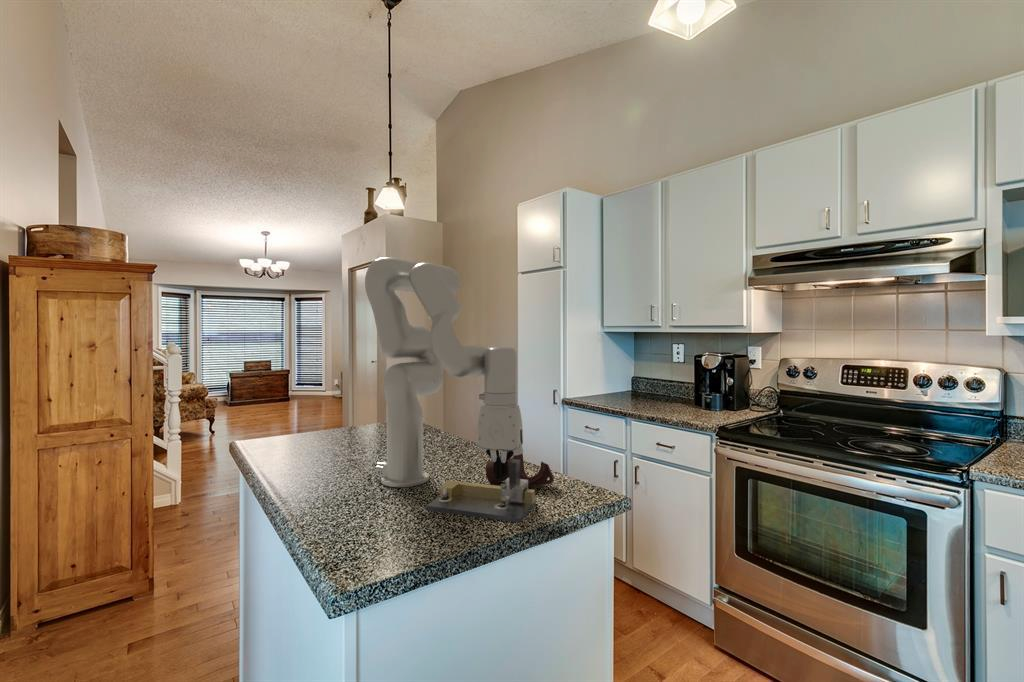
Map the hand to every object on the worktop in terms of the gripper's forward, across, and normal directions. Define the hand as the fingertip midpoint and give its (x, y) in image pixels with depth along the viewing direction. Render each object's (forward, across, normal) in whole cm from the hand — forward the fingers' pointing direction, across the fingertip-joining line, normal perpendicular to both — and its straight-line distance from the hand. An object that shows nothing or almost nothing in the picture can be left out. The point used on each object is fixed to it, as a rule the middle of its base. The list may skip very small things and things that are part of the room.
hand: (500, 477), depth 110 cm
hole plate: (+6, -3, -4) cm, 8 cm away
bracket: (+6, 0, +14) cm, 16 cm away
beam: (+5, -3, -2) cm, 6 cm away
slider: (+4, +3, -1) cm, 6 cm away
